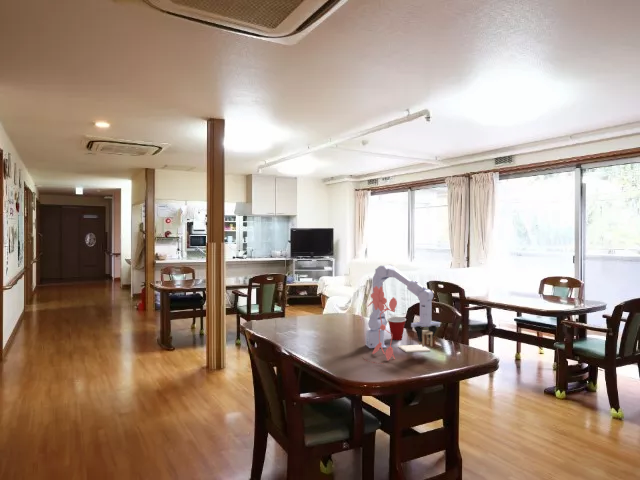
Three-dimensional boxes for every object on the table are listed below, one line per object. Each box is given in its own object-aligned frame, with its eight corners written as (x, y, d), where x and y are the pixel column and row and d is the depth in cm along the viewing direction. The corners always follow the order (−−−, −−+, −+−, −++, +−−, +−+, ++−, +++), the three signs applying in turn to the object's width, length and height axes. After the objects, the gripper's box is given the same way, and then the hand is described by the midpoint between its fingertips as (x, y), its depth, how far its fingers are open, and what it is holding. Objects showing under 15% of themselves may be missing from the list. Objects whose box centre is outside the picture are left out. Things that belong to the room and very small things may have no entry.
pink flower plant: (377, 350, 226) (376, 282, 226) (406, 363, 203) (405, 287, 202) (351, 353, 220) (349, 284, 220) (378, 367, 197) (376, 290, 196)
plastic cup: (384, 340, 249) (384, 319, 249) (390, 336, 258) (390, 316, 258) (403, 342, 244) (403, 320, 244) (408, 338, 253) (408, 317, 253)
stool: (422, 346, 214) (422, 332, 214) (418, 344, 219) (418, 330, 219) (432, 346, 215) (432, 332, 215) (428, 343, 220) (428, 329, 220)
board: (406, 352, 222) (406, 350, 222) (398, 347, 233) (398, 345, 233) (430, 351, 224) (430, 349, 224) (421, 346, 235) (421, 344, 235)
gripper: (414, 315, 212) (414, 343, 212) (442, 315, 214) (442, 342, 214) (409, 313, 219) (409, 340, 219) (436, 312, 221) (436, 339, 221)
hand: (425, 341), depth 217 cm, fingers closed on stool, 5 cm apart
